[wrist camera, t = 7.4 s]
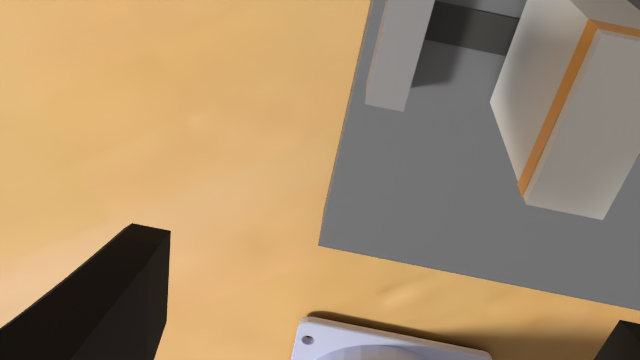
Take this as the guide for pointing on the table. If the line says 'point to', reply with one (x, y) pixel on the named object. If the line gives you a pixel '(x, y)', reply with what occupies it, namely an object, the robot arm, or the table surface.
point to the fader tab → (572, 103)
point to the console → (460, 163)
